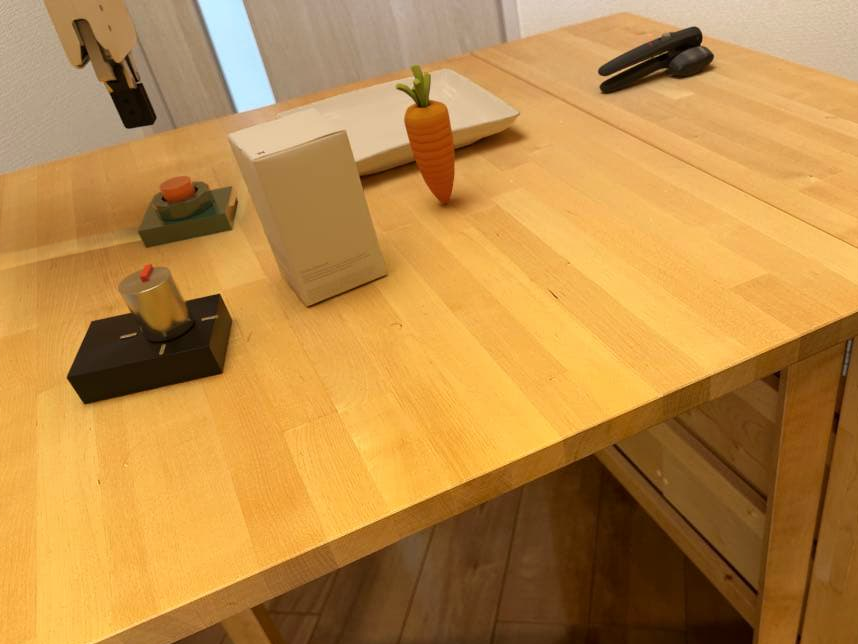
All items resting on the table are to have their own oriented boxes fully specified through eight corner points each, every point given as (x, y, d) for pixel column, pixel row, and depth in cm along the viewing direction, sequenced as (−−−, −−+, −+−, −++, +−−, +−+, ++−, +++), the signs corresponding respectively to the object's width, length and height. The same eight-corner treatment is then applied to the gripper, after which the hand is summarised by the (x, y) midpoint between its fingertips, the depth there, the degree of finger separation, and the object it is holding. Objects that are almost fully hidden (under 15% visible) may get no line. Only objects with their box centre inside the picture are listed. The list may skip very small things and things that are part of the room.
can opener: (692, 58, 116) (692, 18, 112) (718, 69, 111) (719, 27, 107) (587, 87, 111) (584, 47, 108) (610, 100, 106) (607, 58, 103)
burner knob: (189, 336, 67) (163, 284, 63) (139, 346, 67) (109, 294, 63) (198, 309, 70) (173, 259, 67) (150, 319, 70) (122, 269, 67)
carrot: (455, 215, 85) (426, 76, 76) (417, 212, 87) (383, 77, 77) (473, 194, 89) (447, 60, 79) (436, 193, 90) (405, 60, 81)
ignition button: (163, 206, 88) (156, 192, 87) (168, 193, 91) (161, 179, 90) (194, 199, 89) (188, 185, 87) (198, 187, 91) (192, 173, 90)
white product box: (391, 275, 77) (348, 128, 67) (307, 309, 74) (249, 160, 64) (358, 243, 83) (315, 104, 73) (279, 273, 80) (223, 132, 70)
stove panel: (83, 404, 66) (64, 376, 64) (106, 346, 73) (90, 319, 71) (225, 372, 67) (211, 343, 65) (235, 318, 74) (222, 290, 72)
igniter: (146, 248, 89) (129, 217, 86) (157, 218, 95) (143, 188, 92) (232, 230, 90) (218, 198, 87) (238, 202, 96) (225, 171, 93)
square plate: (527, 139, 100) (523, 109, 97) (325, 201, 92) (315, 171, 90) (453, 88, 119) (448, 62, 116) (281, 136, 112) (272, 110, 109)
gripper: (39, -74, 78) (121, 108, 89) (-11, -50, 66) (90, 155, 78) (115, -84, 78) (186, 97, 90) (79, -63, 67) (165, 142, 79)
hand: (141, 124), depth 84 cm, fingers closed
